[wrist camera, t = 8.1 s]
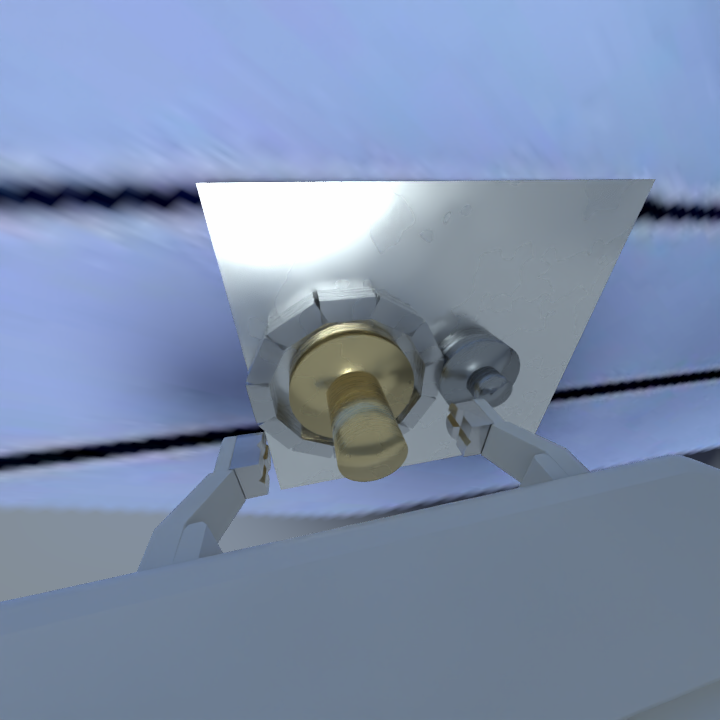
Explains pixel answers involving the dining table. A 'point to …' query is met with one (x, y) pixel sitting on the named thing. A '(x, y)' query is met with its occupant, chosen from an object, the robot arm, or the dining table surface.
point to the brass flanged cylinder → (354, 396)
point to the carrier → (417, 291)
